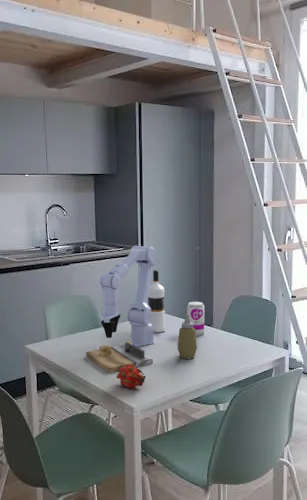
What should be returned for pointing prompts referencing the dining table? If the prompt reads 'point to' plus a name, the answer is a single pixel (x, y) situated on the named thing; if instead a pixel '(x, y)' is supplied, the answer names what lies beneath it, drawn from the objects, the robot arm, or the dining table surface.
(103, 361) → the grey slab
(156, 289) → the vodka
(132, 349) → the lock bar
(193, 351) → the squeeze bottle
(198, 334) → the supplement can
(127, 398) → the dining table surface
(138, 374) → the dragon fruit
